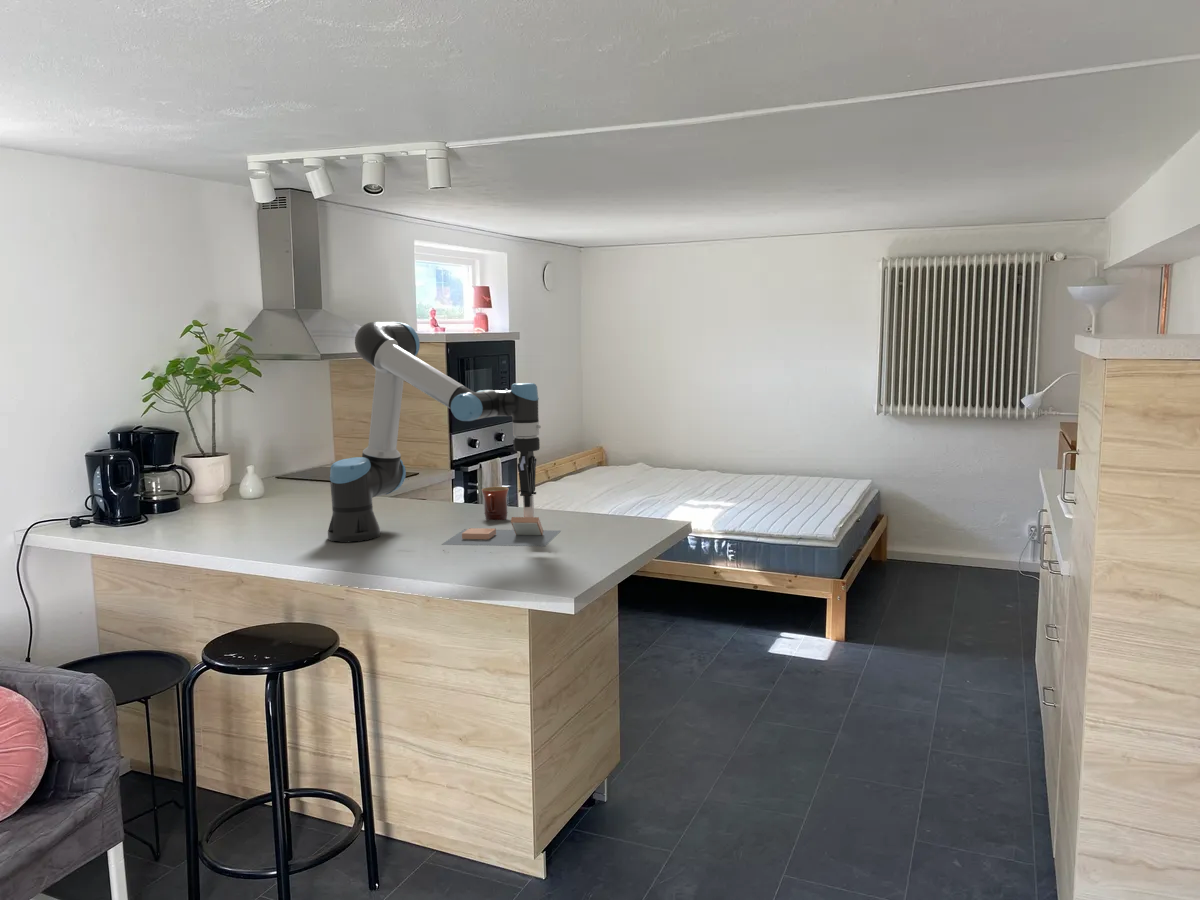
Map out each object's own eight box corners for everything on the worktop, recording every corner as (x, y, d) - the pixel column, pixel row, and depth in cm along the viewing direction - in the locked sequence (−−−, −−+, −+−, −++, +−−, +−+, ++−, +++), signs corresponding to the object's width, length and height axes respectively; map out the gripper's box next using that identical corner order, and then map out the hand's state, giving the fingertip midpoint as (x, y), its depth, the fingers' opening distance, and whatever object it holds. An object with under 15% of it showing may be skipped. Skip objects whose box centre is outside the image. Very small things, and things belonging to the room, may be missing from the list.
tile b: (515, 535, 255) (510, 522, 250) (516, 530, 256) (511, 517, 251) (542, 535, 254) (537, 522, 248) (543, 530, 255) (538, 517, 249)
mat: (441, 548, 245) (441, 544, 245) (464, 532, 265) (464, 529, 265) (545, 550, 240) (545, 546, 240) (561, 534, 260) (561, 530, 260)
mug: (487, 517, 289) (486, 486, 287) (513, 517, 287) (512, 486, 286) (475, 524, 277) (474, 492, 276) (501, 525, 275) (500, 493, 274)
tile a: (469, 534, 257) (462, 539, 251) (469, 528, 257) (461, 533, 250) (496, 534, 256) (488, 540, 249) (495, 528, 256) (488, 533, 249)
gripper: (533, 439, 244) (536, 522, 247) (544, 434, 257) (546, 513, 260) (507, 439, 245) (510, 521, 248) (519, 434, 258) (522, 512, 261)
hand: (529, 517), depth 254 cm, fingers closed
